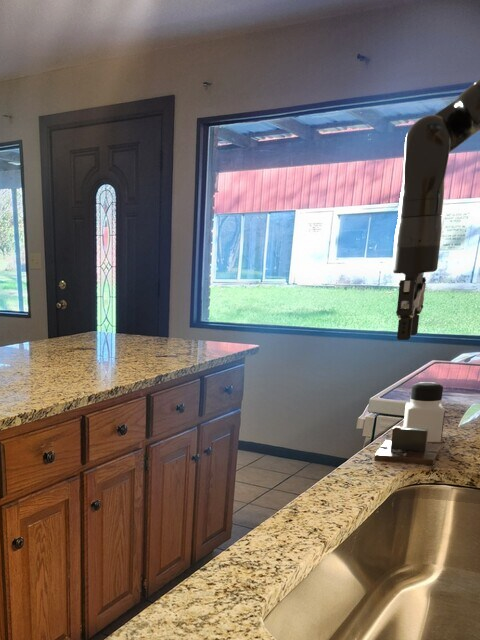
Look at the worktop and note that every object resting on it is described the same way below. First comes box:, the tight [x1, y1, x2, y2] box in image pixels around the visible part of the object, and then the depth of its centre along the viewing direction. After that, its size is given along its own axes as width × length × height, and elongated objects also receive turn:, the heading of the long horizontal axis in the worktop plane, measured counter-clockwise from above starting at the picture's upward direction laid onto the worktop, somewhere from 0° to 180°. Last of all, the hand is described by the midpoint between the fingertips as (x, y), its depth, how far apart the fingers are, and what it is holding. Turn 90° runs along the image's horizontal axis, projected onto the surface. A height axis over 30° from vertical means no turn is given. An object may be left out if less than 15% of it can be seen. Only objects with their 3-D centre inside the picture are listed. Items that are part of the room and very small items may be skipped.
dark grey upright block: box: [390, 425, 428, 452], centre depth 130 cm, size 6×2×4 cm, turn 59°
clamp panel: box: [373, 439, 441, 467], centre depth 131 cm, size 10×12×3 cm
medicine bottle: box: [402, 381, 446, 444], centre depth 147 cm, size 7×7×12 cm
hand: (407, 337), depth 128 cm, fingers open, 8 cm apart
